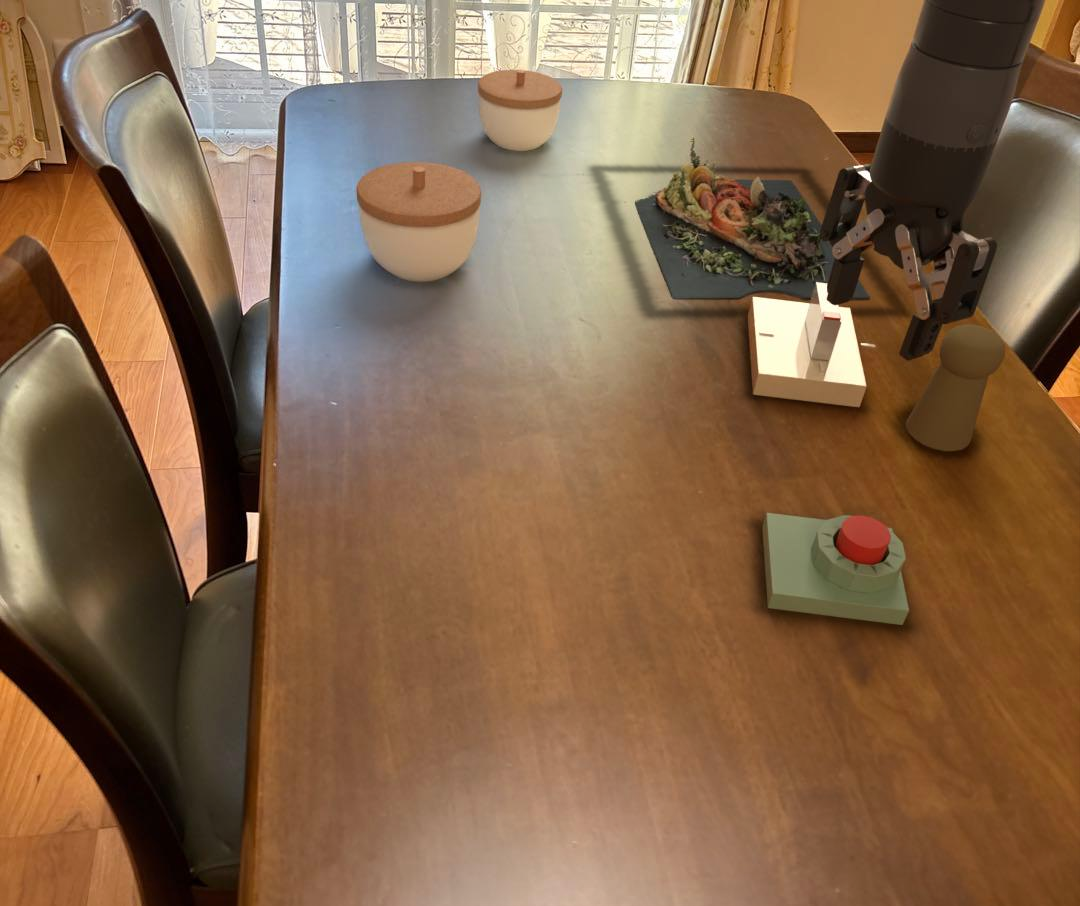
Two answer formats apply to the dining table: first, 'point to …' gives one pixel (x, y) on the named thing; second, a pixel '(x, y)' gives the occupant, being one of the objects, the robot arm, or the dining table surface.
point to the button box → (829, 572)
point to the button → (863, 540)
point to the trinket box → (519, 108)
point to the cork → (956, 388)
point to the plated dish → (735, 237)
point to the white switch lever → (822, 323)
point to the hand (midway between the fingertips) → (873, 328)
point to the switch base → (802, 356)
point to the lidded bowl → (419, 218)
